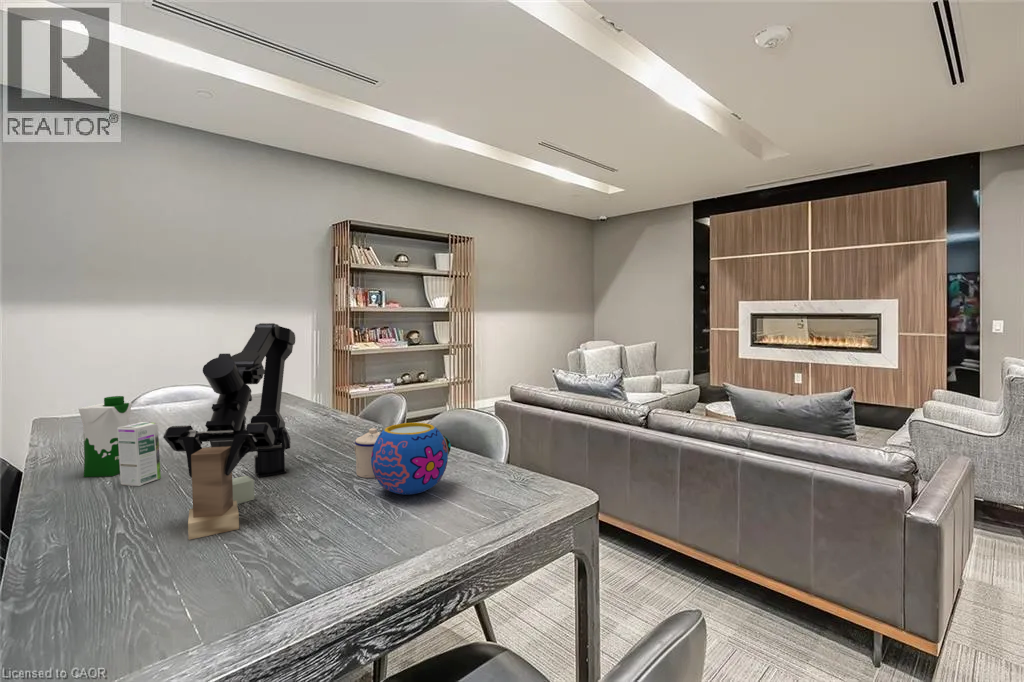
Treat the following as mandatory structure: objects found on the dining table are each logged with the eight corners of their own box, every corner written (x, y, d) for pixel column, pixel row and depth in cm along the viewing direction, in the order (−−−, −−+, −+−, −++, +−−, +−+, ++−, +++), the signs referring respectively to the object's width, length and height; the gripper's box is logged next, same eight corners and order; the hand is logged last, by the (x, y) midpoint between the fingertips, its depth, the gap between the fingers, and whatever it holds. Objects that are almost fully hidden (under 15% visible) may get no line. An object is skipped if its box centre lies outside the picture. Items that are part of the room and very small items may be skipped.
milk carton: (114, 477, 120) (110, 399, 119) (76, 478, 119) (72, 400, 118) (138, 466, 128) (135, 394, 127) (103, 467, 128) (100, 395, 127)
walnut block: (205, 507, 93) (203, 447, 92) (233, 505, 94) (231, 446, 93) (193, 517, 88) (191, 454, 87) (222, 515, 89) (220, 453, 88)
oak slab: (236, 514, 97) (236, 500, 96) (239, 528, 90) (238, 513, 90) (189, 523, 92) (189, 508, 92) (188, 539, 86) (188, 523, 85)
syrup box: (139, 486, 113) (136, 427, 112) (119, 485, 114) (116, 426, 113) (161, 478, 119) (159, 422, 118) (142, 477, 120) (139, 421, 119)
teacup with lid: (398, 471, 124) (398, 427, 123) (370, 481, 116) (369, 434, 116) (370, 463, 131) (369, 422, 130) (341, 472, 123) (340, 428, 123)
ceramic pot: (462, 483, 114) (461, 423, 114) (418, 511, 98) (417, 440, 97) (404, 474, 122) (403, 417, 121) (355, 497, 105) (353, 432, 105)
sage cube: (247, 494, 108) (246, 475, 108) (254, 499, 105) (254, 480, 105) (225, 500, 104) (224, 480, 104) (232, 505, 101) (231, 485, 101)
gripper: (286, 425, 107) (272, 490, 97) (196, 429, 104) (172, 497, 93) (274, 397, 99) (257, 465, 89) (176, 400, 96) (147, 471, 85)
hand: (209, 475), depth 89 cm, fingers open, 6 cm apart
